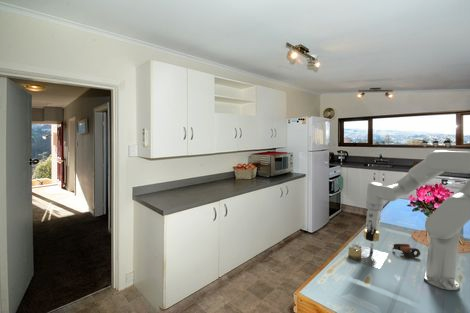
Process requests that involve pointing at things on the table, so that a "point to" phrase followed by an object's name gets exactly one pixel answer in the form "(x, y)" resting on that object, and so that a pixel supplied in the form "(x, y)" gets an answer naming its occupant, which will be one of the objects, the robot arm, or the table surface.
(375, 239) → the planet gear
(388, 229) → the table surface
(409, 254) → the brown clawed ring bracket
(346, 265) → the table surface
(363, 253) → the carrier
